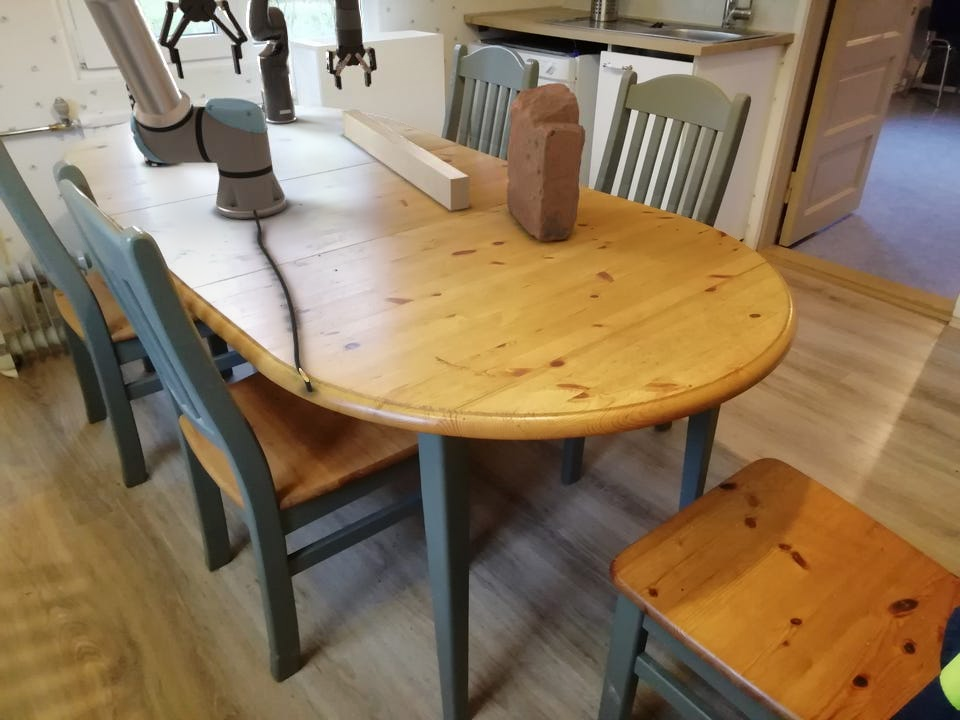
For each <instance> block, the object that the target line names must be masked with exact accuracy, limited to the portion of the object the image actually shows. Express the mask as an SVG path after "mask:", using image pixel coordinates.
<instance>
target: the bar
mask: <svg viewBox="0 0 960 720" xmlns="http://www.w3.org/2000/svg"><path fill="white" fill-rule="evenodd" d="M341 115H342V126H343V136H344V137H346V138H347V139H349V140H350V141H351V142H353V143H354V144H355V145H357V146H358V147H360V148H361V149H362V150H364V151H365V152H367V153H368V154H370V155H371V156H373V157H374V158H376V160H378V161H379V162H381V163H382V164H384V165H385V166H387V167H388V168H389V169H391V170H392V171H394V172H395V173H396V174H398V175H400V176H401V177H402V178H404V179H405V180H407V182H409V183H411V184H412V185H413V186H415V187H417V188H418V189H419V190H421V191H422V192H424V193H425V194H426V195H428V196H429V197H431V198H432V199H433V200H434V201H436V202H438V203H439V204H441V206H443V207H445V208H446V209H447V210H449V211H451V212H452V211H457V210H458V211H459V210H463V209H468V208H470V176H469V175H467V174H466V173H465V172H462V171H460V170H459V169H457V168H456V167H454V166H453V165H451V164H449V163H447V162H445V161H444V160H443V159H440V158H439V157H437V156H436V155H434V154H433V153H431V152H429V151H428V150H426V149H424V148H423V147H421V146H419V145H417V144H416V143H414V142H413V141H411V140H409V139H407V138H406V137H404V136H402V135H400V134H399V133H397V132H395V131H394V130H392V129H391V128H389V127H387V126H386V125H384V124H382V123H380V122H379V121H377V120H376V119H374V118H373V117H371V116H369V115H367V114H366V113H363V112H362V111H361V110H359V109H357V108H355V109H346V110H341Z"/></svg>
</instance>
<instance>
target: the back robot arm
mask: <svg viewBox="0 0 960 720" xmlns="http://www.w3.org/2000/svg"><path fill="white" fill-rule="evenodd" d="M332 1H333V22H334V32H335V43H336V50H330V49H327V50H325V61H326V62H325V63H326V72H327V73H328V74H330V75H333V78H334V87H335V88H336V89H337V90H339V91H341V90H342V91H343V84H342V76H341V73H342V72H343V70H344V69H345V68H346V67H352V66H354V67H355V66H357V67H358V66H360V67H361V69H363V70H364V72H363V75H364V86H365V87H366V88H370V87H371V86H372V73H373V72H374V71H377V69H378V63H377V58H376V57H377V56H376V50H375V48H374V47H371V46H368V47H367V48H365V47H364V31H363V20H362V18H363V17H362V13H361V5H360V0H332ZM269 4H270V0H248V1H247V8H246V17H245V18H246V19H245V20H246V30H247V32H248V35H249V37H250V38H251V39H252V40H253V41H255V42H256V43H265V42H266V46H265V47H264V49H263V50H262V51H260V52H259V53H258V55H257V63H258V70H259V77H260V84H261V89H260V94H261V102H262V104H261V106H260V107H261V109H262V110H263V112H264V117H265V121H266V122H268V123H271V124H288V123H293V122H295V121H297V116H296V110H295V101H294V94H293V86H292V85H293V84H292V79H291V70H290V63H289V56H290V41H289V28H288V23H287V18H286V16H285V14H284V12H283V10H281V8H279V7H277V6H270V5H269ZM365 55H367V57H368V60H369V62H368V63H369V65H368V64H367V61H365V60H364V57H365ZM336 57H337V58H338V61H337V62H336V64H335V65H336V66H335V67H334V60H335V58H336Z"/></svg>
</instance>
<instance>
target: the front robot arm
mask: <svg viewBox="0 0 960 720" xmlns="http://www.w3.org/2000/svg"><path fill="white" fill-rule="evenodd" d="M83 3H84V4H85V6H86V8H87V9H88V12H89V14H90V15H91V18H92V19H93V21H94V23H95V25H96V28H97V29H98V30H99V33H100V35H101V37H102V39H103V41H104V43H105V45H106V47H107V49H108V51H109V53H110V55H111V56H112V59H113V61H114V62H115V65H116V66H117V68H118V71H119V72H120V74H121V76H122V78H123V80H124V82H125V85H126V84H127V86H128V88H129V90H130V92H131V94H132V96H133V98H134V100H135V101H136V103H135V105H134V108H133V111H132V112H131V114H130V130H131V131H130V132H132V134H133V136H132V139H133V142H134V143H135V146H136V147H137V149H138V150H139V151H140V153H141V154H142V155H143V157H144V156H145V157H146V158H148V159H149V160H151V161H154V162H162V163H167V164H170V163H172V164H171V165H174V164H216V167H217V169H218V170H217V172H218V185H217V193H216V201H215V206H216V210H217V213H218V214H219V215H221V216H223V217H225V218H229V219H236V220H253V219H254V221H255V223H256V227H257V237H256V240H257V244H258V246H259V248H260V250H261V251H262V253H263V254H264V256H265V257H266V259H267V261H268V263H269V264H270V266H271V267H272V269H273V271H274V273H275V275H276V276H277V279H278V281H279V282H280V286H281V288H282V290H283V293H284V296H285V299H286V302H287V305H288V310H289V316H290V321H291V330H292V339H293V358H294V364H295V368H296V370H297V372H298V374H299V376H301V374H300V372H299V368H301V369H302V370H303V371H304V369H303V367H302V365H301V360H300V344H299V343H300V342H299V338H298V337H299V335H298V327H297V326H298V325H297V320H296V315H295V310H294V306H293V302H292V299H291V296H290V292H289V290H288V287H287V285H286V283H285V281H284V278H283V275H282V274H281V272H280V271H279V268H278V267H277V265H276V263H275V261H274V260H273V259H272V257H271V255H270V254H269V252H268V251H267V249H266V248H265V246H264V244H263V243H262V225H261V223H260V218H261V219H262V218H265V217H266V218H267V217H270V216H274V215H276V214H278V213H280V212H282V211H283V210H285V209H286V207H287V199H286V194H285V193H284V191H283V189H282V187H281V184H280V182H279V180H278V179H277V177H276V175H275V172H274V167H273V160H272V154H271V147H270V140H269V133H268V131H269V130H268V125H267V123H266V122H267V121H266V120H265V114H264V112H263V110H262V109H261V107H262V106H259V105H258V104H257V103H255V102H253V101H250V100H247V99H242V98H236V97H214V98H210V99H208V100H206V102H205V104H204V106H199V105H198V106H195V105H194V104H193V102H192V100H191V98H190V96H189V94H188V93H186V91H184V90H182V89H181V88H180V89H179V88H178V87H177V84H176V81H175V79H174V77H173V74H172V73H171V70H170V68H169V66H168V64H167V61H166V59H165V57H164V54H163V52H162V50H161V47H163V48H166V49H167V51H168V56H169V61H170V62H171V64H173V65H174V64H175V67H176V72H177V77H178V79H181V80H185V75H184V71H183V66H182V60H181V56H180V50H179V48H177V47H176V45H177V44H178V42H179V41H180V39H181V37H182V36H183V34H184V32H185V30H186V29H187V27H188V25H189V24H190V23H191V22H192V23H200V22H203V23H209V22H212V23H213V24H214V25H215V26H216V27H217V28H218V29H219V30H220V31H221V32H222V33H223V34H224V35H225V36H226V37H227V38H228V39H229V40H230V42H232V43H233V44H230V49H231V56H232V61H233V68H234V74H237V75H238V76H239V75H242V70H241V64H240V60H243V51H242V44H244V43H247V42H248V41H249V39H248V36H247V35H246V33H245V32H244V30H243V28H242V27H241V25H240V24H239V22H238V20H237V19H236V17H235V16H234V14H233V12H232V11H231V8H230V5H229V2H228V0H217V1H215V0H178V2H175V1H174V2H173V1H170V0H166V1H165V5H164V6H165V15H164V18H163V22H162V25H161V29H160V33H159V37H158V41H157V39H156V36H155V33H154V31H153V29H152V27H151V25H150V22H149V20H148V18H147V16H146V14H145V10H144V8H143V6H142V4H141V2H140V0H83ZM217 8H218V9H219V10H220V11H222V12H223V14H224V16H225V17H226V19H227V20H228V22H229V24H230V25H231V27H232V28H233V30H234V31H235V33H236V35H237V36H238V37H237V36H236V35H235V33H233V32H232V31H231V30H230V29H229V28H228V27H227V26H226V24H224V23H223V22H222V21H221V19H220V18H219V17H218V16H217V15H216V14H215V12H216V10H217ZM178 9H179V10H180V11H181V12H182V13H183V14H182V16H181V18H180V20H179V22H178V24H177V26H176V27H175V29H174V31H173V32H172V34H171V36H170V38H169V40H168V37H169V33H170V30H171V26H172V23H173V19H174V16H175V15H174V13H176V12H177V11H178ZM160 46H161V47H160ZM173 163H174V164H173ZM303 382H304V384H305V388H306V390H307V393H312V392H314V391H313V386H312V383H311V380H310V379H309V382H306V381H305V380H304V379H303Z"/></svg>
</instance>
